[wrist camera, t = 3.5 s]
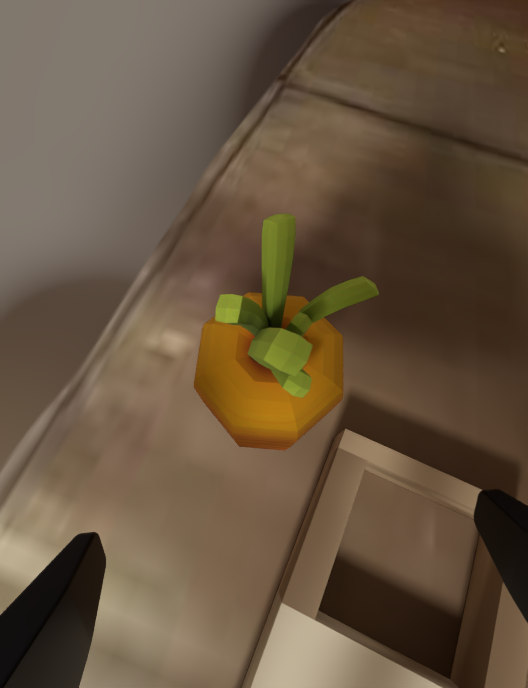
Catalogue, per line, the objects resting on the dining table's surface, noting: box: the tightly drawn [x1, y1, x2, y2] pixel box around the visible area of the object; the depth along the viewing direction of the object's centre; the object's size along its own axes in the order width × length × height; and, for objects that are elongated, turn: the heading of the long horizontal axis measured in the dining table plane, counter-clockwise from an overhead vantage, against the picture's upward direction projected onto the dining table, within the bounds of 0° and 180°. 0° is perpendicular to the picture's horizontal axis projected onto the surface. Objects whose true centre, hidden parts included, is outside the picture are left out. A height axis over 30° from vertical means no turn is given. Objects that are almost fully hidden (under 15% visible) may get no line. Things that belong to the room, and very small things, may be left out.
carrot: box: [194, 214, 379, 450], centre depth 14 cm, size 5×5×15 cm
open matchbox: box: [241, 429, 528, 688], centre depth 16 cm, size 10×18×2 cm, turn 156°
